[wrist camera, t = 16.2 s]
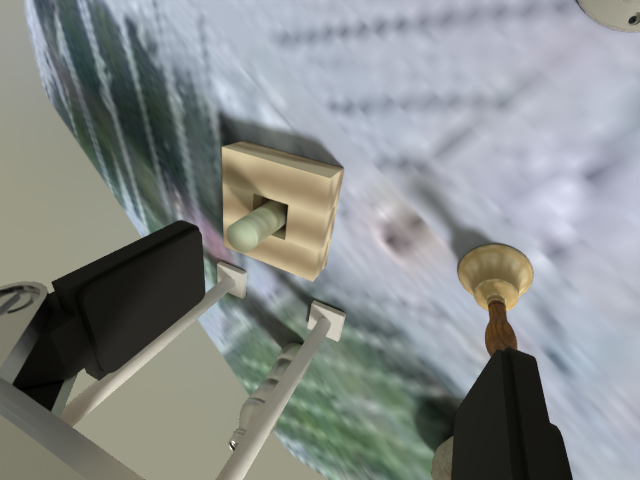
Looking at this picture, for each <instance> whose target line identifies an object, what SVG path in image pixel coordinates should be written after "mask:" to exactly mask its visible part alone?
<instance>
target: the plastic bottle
mask: <svg viewBox="0 0 640 480" xmlns="http://www.w3.org/2000/svg"><path fill="white" fill-rule="evenodd" d="M301 347H302V345H301V344H298V343H291V344H288V345H286V346H285V347H284V348H283V349H282V350H281V351H280V353H279V355H278V357H277V359H276V362H275V364H274V365H273V367H272V369H271V371H270V372H269V374H268V376H267V377H266V378H265V380H264V381H263V382H262V383H261V385H260V386H259V387H258V388H257V389H256V391H255V392H254V393H253V394H252V395H251V396H250V397H249V398H248V399H247V400H246V402H245V403H244V404H243V406H242V409H241V411H240V418H239V429H236V430H235V431H234V433H233V435H232V437H231V438H230V440H229V442H228V445H229V447H230V448H231V450H232V451H233V452H234V451H235V449H236V447H237V446H238V444H239V443H240V441H241V440H242V438H243V437H244V435H245V433H246V432H247V430H248V429H249V427H250V426H251V424H252V423H253V421H254V419H255V418H256V416H257V415H258V413H259V412H260V410H261V409H262V407H263V406H264V404H265V402H266V401H267V399H268V398H269V396H270V395H271V393H272V392H273V390H274V388H275V387H276V385H277V384H278V382H279V381H280V379H281V378H282V376H283V374H284V373H285V371H286V370H287V368H288V367H289V365H290V364H291V362H292V361H293V359H294V357H295V356H296V354H297V353H298V351H299V350H300V348H301ZM310 365H311V362H310V364H309V366H308V367H307V369H306V371H305V372H304V374H303V376H302V378H303V377H304V376H305V374H306V373H307V372H308V370H309V368H310ZM302 378H301V379H302ZM301 379H300V380H301ZM282 412H283V411H282ZM282 412H281V414H282ZM281 414H280V416H279V417H278V419H277V421H276V423H275V424H274V426H273V428H272V430H271V431H270V433H272V432H273V431H274V430H275V428H276V426H277V424H278V421H279V419H280V417H281ZM270 433H269V434H270Z"/></svg>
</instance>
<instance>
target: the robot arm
mask: <svg viewBox="0 0 640 480" xmlns="http://www.w3.org/2000/svg"><path fill="white" fill-rule="evenodd" d="M578 3H579V5H580V6H581V7H582V9H583V10H584V12H585V13H586V14H587V15H588V16H589V17H590V18H591V19H593V20H594V21H595V22H597V23H598V24H600V25H602V26H605V27H607V28H610V29H612V30H617V31H623V32H640V0H578ZM630 17H634V18H635V21H634V22H633V23H632V24H630V23H629V22H628V20H629V19H630ZM52 285H53V288H54V290H55V291H54V292H52V293H50V294H49V293H48V290H47V287H46V286H44V285H43V284H41V283H37V282H18V283H13V284H9V285H5V286H1V287H0V480H145V479H143V478H142V477H141V476H139V475H138V474H136V473H135V472H134V471H132V470H131V469H129V468H128V467H127V466H125V465H124V464H122V463H121V462H120V461H118V460H117V459H116V458H114V457H113V456H111V455H110V454H109V453H107V452H106V451H105V450H103V449H102V448H100V447H99V446H98V445H96V444H95V443H93V442H92V441H91V440H89V439H88V438H86V437H85V436H84V435H82V434H81V433H79V432H78V431H77V430H75V429H73V428H72V427H71V426H70V425H68V424H67V423H65V422H64V421H62V420H61V419H60V417H61V415H62V412H63V410H64V407H65V404H66V402H67V399H68V397H69V394H70V392H71V389H72V387H73V384H74V382H75V379H76V377H77V374H78V372H80V371H81V370H82V369H84V368H85V370H86V373H88V374H89V375H91V376H92V377H94V378H95V379H97V380H99V381H100V380H101V379H103V378H104V377H105V376H106V375H108V374H109V373H113V372H115V371H117V370H118V369H120V368H121V367H122V366H123V365H124V364H126V363H127V362H128V361H129V360H131V359H132V358H133V357H134V356H135V355H137V354H138V353H139V352H140V351H142V350H143V349H144V348H145V347H146V346H148V345H149V344H150V343H151V342H153V341H154V340H155V339H156V338H157V337H159V336H160V335H161V334H162V333H163V332H165V331H166V330H167V329H168V328H170V327H171V326H172V325H173V324H174V323H176V322H177V321H178V320H179V319H181V318H182V317H183V316H184V315H185V314H187V313H188V312H189V311H190V310H192V309H193V308H194V307H195V306H196V305H198V304H199V303H200V302H201V301H202V300H203V298H204V296H205V277H204V261H203V246H202V234H201V232H200V231H199V228H198V227H197V226H196V225H193V224H191V223H188V222H186V221H183V220H179V221H177V222H174V223H172V224H170V225H168V226H166V227H164V228H162V229H160V230H158V231H156V232H154V233H152V234H150V235H148V236H146V237H143V238H141V239H139V240H137V241H135V242H133V243H131V244H129V245H127V246H125V247H123V248H121V249H119V250H117V251H115V252H113V253H111V254H109V255H106V256H104V257H102V258H100V259H98V260H96V261H94V262H92V263H90V264H88V265H86V266H84V267H81V268H80V269H77V270H75V271H73V272H71V273H69V274H67V275H65V276H63V277H61V278H59V279H57V280H55V281H52ZM451 480H573V478H572V474H571V470H570V465H569V461H568V457H567V453H566V449H565V445H564V441H563V437H562V435H561V432H560V430H559V429H558V427H557V426H555V425H553V424H551V423H550V421H549V416H548V412H547V407H546V403H545V398H544V393H543V389H542V384H541V379H540V375H539V370H538V366H537V361H536V359H535V357H534V356H531V355H529V354H526V353H524V352H521V351H518V350H516V349H513V348H511V347H507V348H506V349H505V350H504V351H502V350H500V349H497V350H496V351H495V352H494V354H493V355H492V357H491V358H490V360H489V361H488V363H487V364H486V366H485V368H484V369H483V371H482V372H481V374H480V375H479V377H478V378H477V380H476V382H475V383H474V385H473V386H472V388H471V389H470V391H469V392H468V394H467V396H466V397H465V399H464V400H463V402H462V403H461V405H460V406H459V408H458V410H457V413H456V416H455V421H454V436H453V453H452V469H451Z"/></svg>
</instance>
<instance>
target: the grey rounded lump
mask: <svg viewBox="0 0 640 480" xmlns="http://www.w3.org/2000/svg"><path fill="white" fill-rule="evenodd" d="M452 453H453V436H452V437H450V438H449V439H448V440H446V441H445V442H443V443H442V444H441V445H440V446H438V448H437V450H436V452H435V454H434V457H433V460H432V470H431V475H432V479H433V480H451V469H452Z"/></svg>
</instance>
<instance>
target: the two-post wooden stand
mask: <svg viewBox="0 0 640 480" xmlns="http://www.w3.org/2000/svg"><path fill="white" fill-rule="evenodd" d="M217 278H218V284H217V285H215V286H214V287H213V288H212V289H210V290H209V291H208V292H207V293H205V296H204V298H203V300H202V301H201V302H200V303H199V304H198V305H196V306H195V307H194V308H193V309H192V310H190V311H189V312H188V313H187V314H185V315H184V316H183V317H182V318H181V319H179V320H178V321H177V322H176V323H174V324H173V325H172V326H171V327H170V328H168V329H167V330H166V331H165V332H163V333H162V334H161V335H160V336H159V337H157V338H156V339H155V340H154V341H153V342H151V343H150V344H149V345H148V346H146V347H145V348H144V349H143V350H142V351H140V352H139V353H138V354H137V355H135V356H134V357H133V358H132V359H131V360H129V361H128V362H127V363H126V364H124V365H123V366H122V367H121V368H120V369H118V370H117V371H115V372H113V373H109V374H108V375H106V376H105V377H104V378H103V379H101V380H100V381H99V380H97V381H96V382H95V383H93V384H92V385H91V386H89V387H88V388H87V389H86V390H84V391H83V392H82V393H81V394H79V395H78V396H77V397H76V398H74V399H73V400H72V401H71V402H69V403H68V404H67V405H66V406H65V407H64V410H63V412H62V415H61V417H60V419H61V420H62V421H64V422H65V423H67V424H68V425H70V426H71V427H73V426H74V425H75V424H76V423H78V422H79V421H80V420H81V419H82V418H83V417H84V416H86V415H87V414H88V413H89V412H90V411H91V410H93V409H94V408H95V407H96V406H97V405H98V404H99V403H101V402H102V401H103V400H104V399H105V398H106V397H108V395H110V394H111V393H112V392H113V391H114V390H116V389H117V388H118V387H119V386H120V385H121V384H122V383H124V382H125V381H126V380H127V379H128V378H129V377H131V376H132V375H133V374H134V373H135V372H136V371H137V370H139V369H140V368H141V367H142V366H143V365H144V364H146V363H147V362H148V361H149V360H150V359H151V358H152V357H153V356H155V355H156V354H157V353H158V352H159V351H160V350H162V349H163V348H164V347H165V346H166V345H167V344H169V342H171V341H172V340H173V339H174V338H175V337H177V336H178V335H179V334H180V333H181V332H182V331H183V330H185V328H187V327H188V326H189V325H190V324H192V323H193V322H194V321H195V320H196V319H197V318H198V317H200V316H201V315H202V314H203V313H204V312H205V311H207V310H208V309H209V308H210V307H211V306H212V305H213V304H215V303H216V302H217V301H218V300H219V299H220V298H221V297H223V296H224V295H225V294H226V293H227V292H228V293H230V294H232V295H235V296H237V297H239V298H241V299H244V298H245V297H246V278H247V272H245V271H243V270H241V269H238V268H236V267H233V266H231V265H229V264H226V263H224V262H221V261H220V262H219V263H217ZM345 316H346V313H344V312H341V311H339V310H336V309H334V308H332V307H329V306H327V305H324V304H322V303H320V302H317V301H315V300H314V301H313V302H312V305H311V311H310V316H309V322H308V329H310V330H312V331H311V333H310V334H309V336H308V337H307V339H306V340H305V342H304V343H303V345H302V347H301V348H300V350H299V351H298V353H297V354H296V356H295V357H294V359H293V361H292V362H291V364H290V365H289V367H288V368H287V370H286V371H285V373H284V374H283V376H282V378H281V379H280V381H279V382H278V384H277V385H276V387H275V388H274V390H273V392H272V393H271V395H270V396H269V398H268V399H267V401H266V402H265V404H264V406H263V407H262V409H261V410H260V412H259V413H258V415H257V416H256V418H255V419H254V421H253V423H252V424H251V426H250V427H249V429H248V430H247V432H246V433H245V435H244V437H243V438H242V440H241V441H240V443H239V444H238V446H237V447H236V449H235V451H234V452H233V454H232V455H231V457H230V458H229V460H228V461H227V463H226V465H225V466H224V468H223V469H222V471H221V472H220V474H219V475H218V477H217V479H216V480H243V478H244V476H245V475H246V473H247V471H248V469H249V467H250V466H251V464H252V462H253V461H254V459H255V457H256V456H257V454H258V452H259V450H260V448H261V447H262V445H263V443H264V441H265V440H266V438H267V436H268V435H269V433H270V431H271V430H272V428H273V426H274V424H275V423H276V421H277V419H278V417H279V416H280V414H281V412H282V411H283V409H284V407H285V405H286V404H287V402H288V400H289V398H290V397H291V395H292V393H293V392H294V390H295V388H296V386H297V385H298V383H299V381H300V379H301V378H302V376H303V374H304V372H305V371H306V369H307V367H308V366H309V364H310V362H311V360H312V359H313V357H314V355H315V353H316V352H317V350H318V348H319V347H320V345H321V343H322V341H323V340H324V338H325V336H326V337H328V338H331V339H333V340H335V341H337V342H338V341H339V339H340V336H341V332H342V328H343V324H344V320H345Z"/></svg>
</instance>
